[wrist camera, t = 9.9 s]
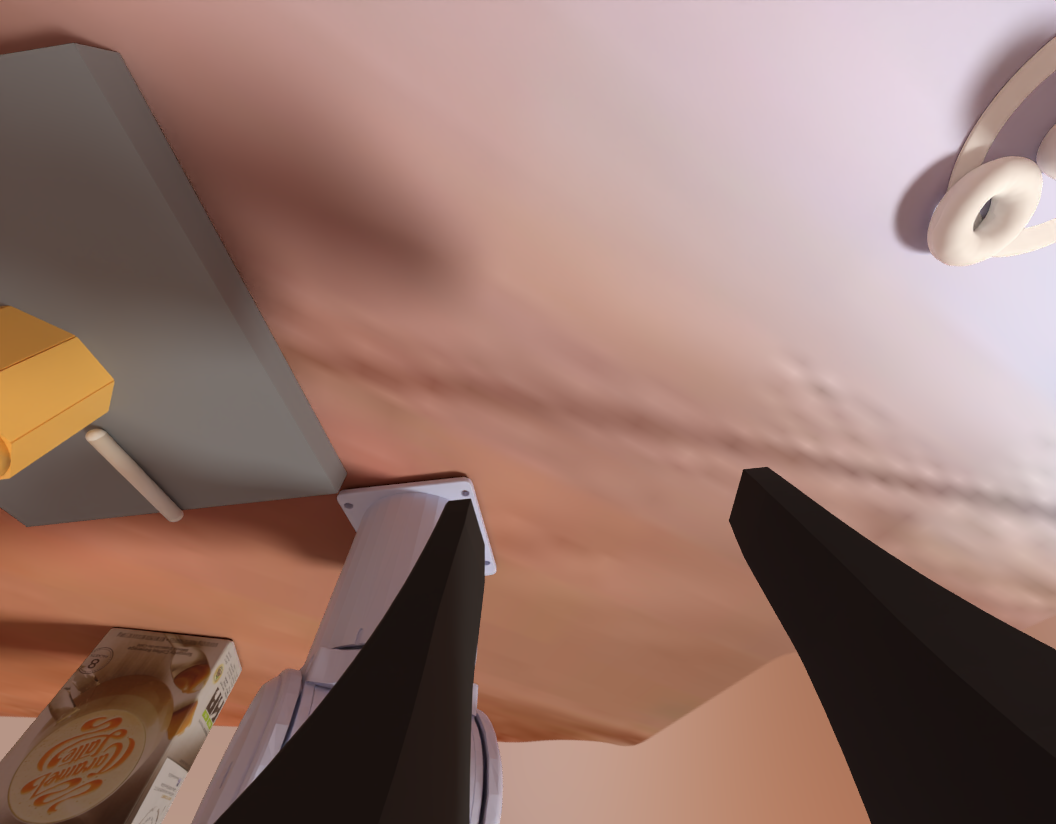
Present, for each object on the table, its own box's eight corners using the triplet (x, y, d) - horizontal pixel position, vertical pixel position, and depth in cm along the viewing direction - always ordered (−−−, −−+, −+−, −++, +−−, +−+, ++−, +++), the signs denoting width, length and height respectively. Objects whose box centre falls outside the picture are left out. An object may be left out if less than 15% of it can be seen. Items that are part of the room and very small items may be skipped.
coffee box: (234, 637, 33) (49, 970, 20) (243, 669, 36) (91, 970, 23) (108, 625, 31) (-188, 982, 18) (130, 660, 34) (-103, 979, 21)
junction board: (349, 478, 22) (335, 507, 21) (57, 510, 23) (19, 541, 21) (119, 52, 12) (48, 37, 10) (-406, 137, 13) (-557, 137, 11)
